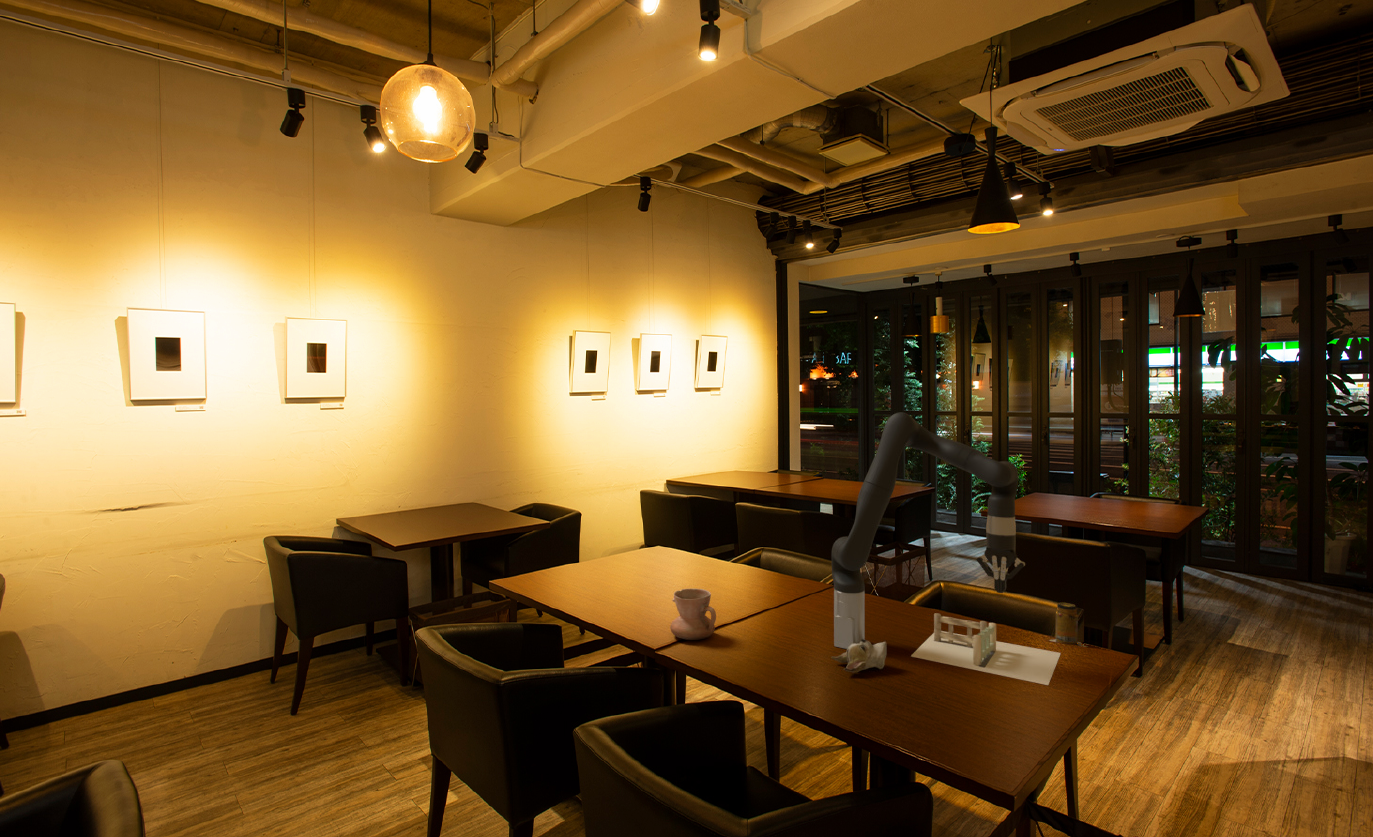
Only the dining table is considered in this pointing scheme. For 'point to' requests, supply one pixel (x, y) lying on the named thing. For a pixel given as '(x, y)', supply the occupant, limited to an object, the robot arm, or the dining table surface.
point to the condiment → (1067, 624)
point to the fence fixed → (950, 635)
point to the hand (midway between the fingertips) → (1000, 592)
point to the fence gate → (984, 643)
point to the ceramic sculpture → (863, 656)
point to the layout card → (994, 659)
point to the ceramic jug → (693, 614)
